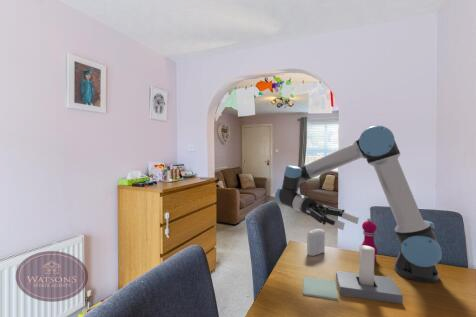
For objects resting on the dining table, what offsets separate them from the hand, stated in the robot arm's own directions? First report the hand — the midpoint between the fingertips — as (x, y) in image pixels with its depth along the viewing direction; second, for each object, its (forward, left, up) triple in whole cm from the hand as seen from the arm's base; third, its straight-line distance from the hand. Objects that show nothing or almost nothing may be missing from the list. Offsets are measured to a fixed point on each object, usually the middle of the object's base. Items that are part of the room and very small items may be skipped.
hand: (351, 223), depth 96 cm
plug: (-5, +4, -24) cm, 24 cm away
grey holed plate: (-5, +4, -24) cm, 24 cm away
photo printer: (+12, -24, -24) cm, 36 cm away
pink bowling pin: (-12, -23, -24) cm, 35 cm away
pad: (+12, +8, -24) cm, 28 cm away
